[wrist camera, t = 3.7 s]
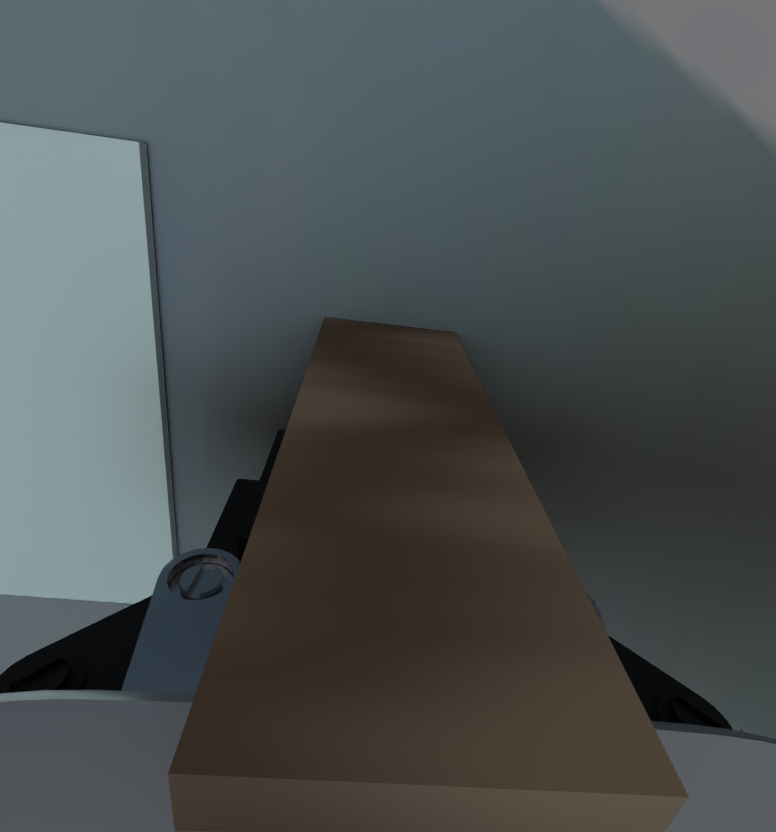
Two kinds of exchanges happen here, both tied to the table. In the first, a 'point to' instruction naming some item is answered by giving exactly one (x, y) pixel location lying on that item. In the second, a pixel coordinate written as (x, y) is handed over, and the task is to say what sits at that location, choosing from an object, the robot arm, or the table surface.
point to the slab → (411, 629)
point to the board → (80, 371)
